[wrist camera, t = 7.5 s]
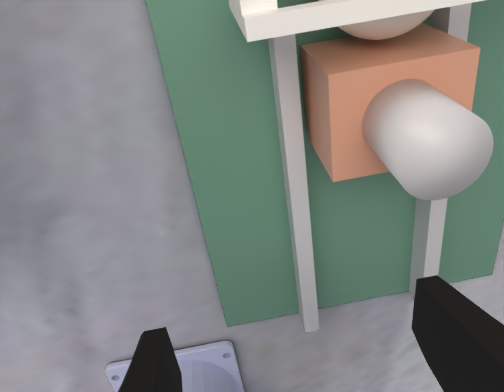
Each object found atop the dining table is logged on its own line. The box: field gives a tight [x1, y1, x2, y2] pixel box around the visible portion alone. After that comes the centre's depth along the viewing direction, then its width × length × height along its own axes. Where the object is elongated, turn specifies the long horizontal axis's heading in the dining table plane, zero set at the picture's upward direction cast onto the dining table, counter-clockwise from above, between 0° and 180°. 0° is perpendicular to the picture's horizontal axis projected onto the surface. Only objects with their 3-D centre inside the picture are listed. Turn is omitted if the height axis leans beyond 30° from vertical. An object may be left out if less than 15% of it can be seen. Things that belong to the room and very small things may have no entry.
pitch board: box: [145, 0, 504, 333], centre depth 20 cm, size 22×16×2 cm
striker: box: [300, 23, 493, 200], centre depth 15 cm, size 4×5×7 cm
